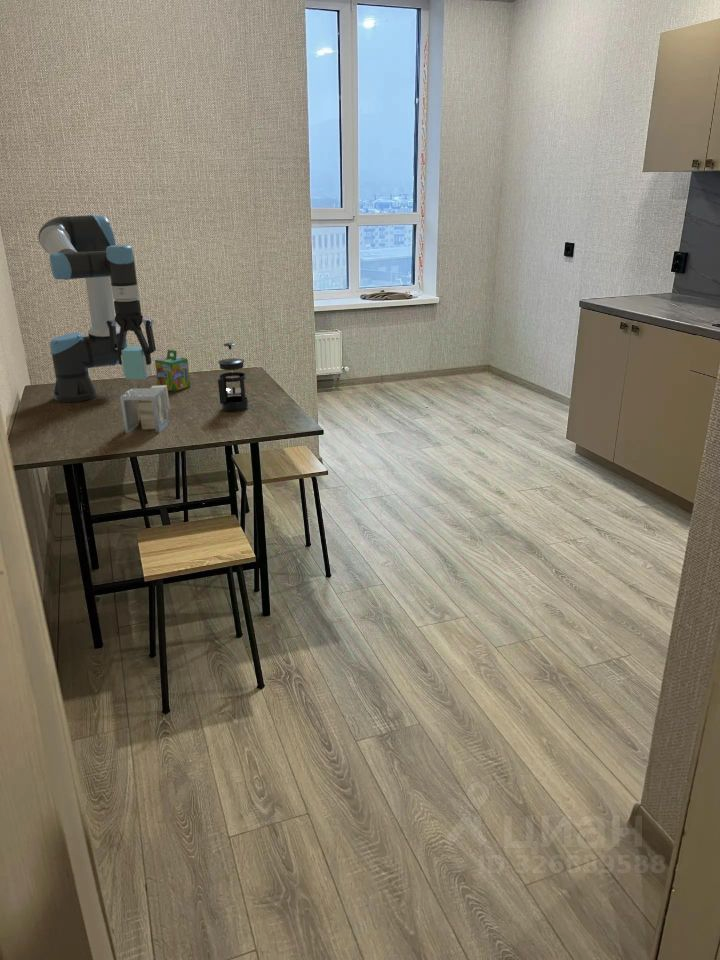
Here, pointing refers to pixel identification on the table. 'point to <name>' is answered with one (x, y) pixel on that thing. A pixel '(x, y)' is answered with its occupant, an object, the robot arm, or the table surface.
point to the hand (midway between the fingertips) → (136, 374)
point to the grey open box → (131, 409)
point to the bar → (147, 409)
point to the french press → (233, 401)
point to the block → (133, 363)
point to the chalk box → (173, 372)
